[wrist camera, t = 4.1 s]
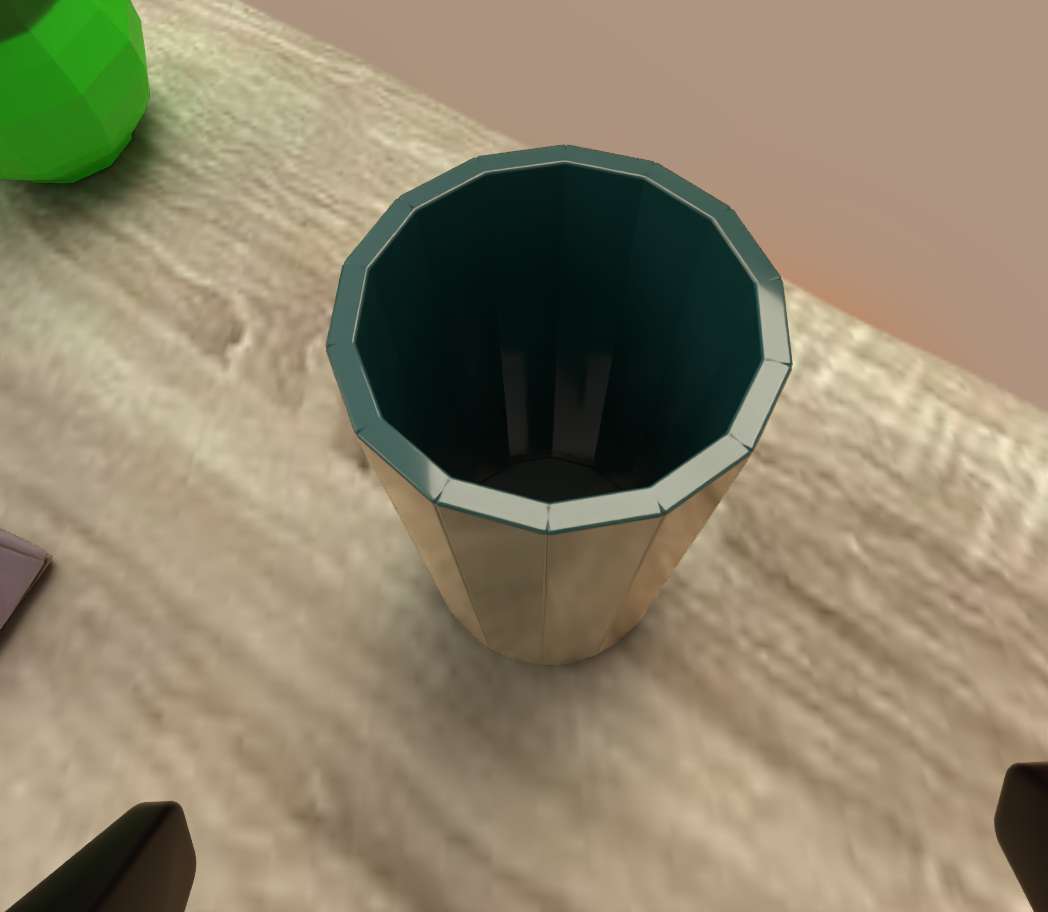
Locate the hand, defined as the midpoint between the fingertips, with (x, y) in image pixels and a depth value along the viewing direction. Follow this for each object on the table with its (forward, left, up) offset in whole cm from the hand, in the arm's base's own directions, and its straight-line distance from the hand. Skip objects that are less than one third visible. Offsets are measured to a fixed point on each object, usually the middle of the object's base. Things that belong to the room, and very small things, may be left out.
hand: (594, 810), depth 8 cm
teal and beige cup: (+2, +6, -12) cm, 14 cm away
